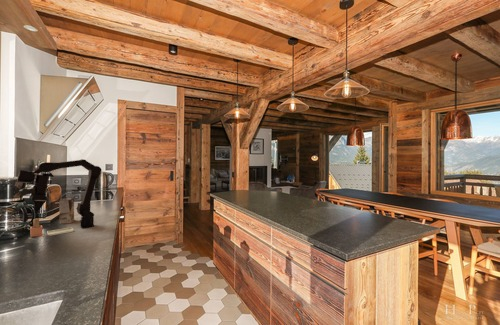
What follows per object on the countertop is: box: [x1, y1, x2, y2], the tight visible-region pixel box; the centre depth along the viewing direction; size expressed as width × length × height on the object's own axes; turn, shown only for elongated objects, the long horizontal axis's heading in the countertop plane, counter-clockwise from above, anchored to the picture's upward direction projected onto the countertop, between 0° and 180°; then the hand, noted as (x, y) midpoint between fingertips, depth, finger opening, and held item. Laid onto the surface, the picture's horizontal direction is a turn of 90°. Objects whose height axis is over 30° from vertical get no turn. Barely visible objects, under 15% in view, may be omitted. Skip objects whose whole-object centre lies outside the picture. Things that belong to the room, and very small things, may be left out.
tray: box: [46, 227, 75, 237], centre depth 140 cm, size 12×9×1 cm
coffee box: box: [58, 197, 75, 225], centre depth 163 cm, size 9×6×16 cm
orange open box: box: [29, 224, 44, 238], centre depth 135 cm, size 5×5×5 cm
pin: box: [32, 218, 40, 228], centre depth 135 cm, size 2×2×9 cm
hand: (35, 211), depth 135 cm, fingers open, 9 cm apart
